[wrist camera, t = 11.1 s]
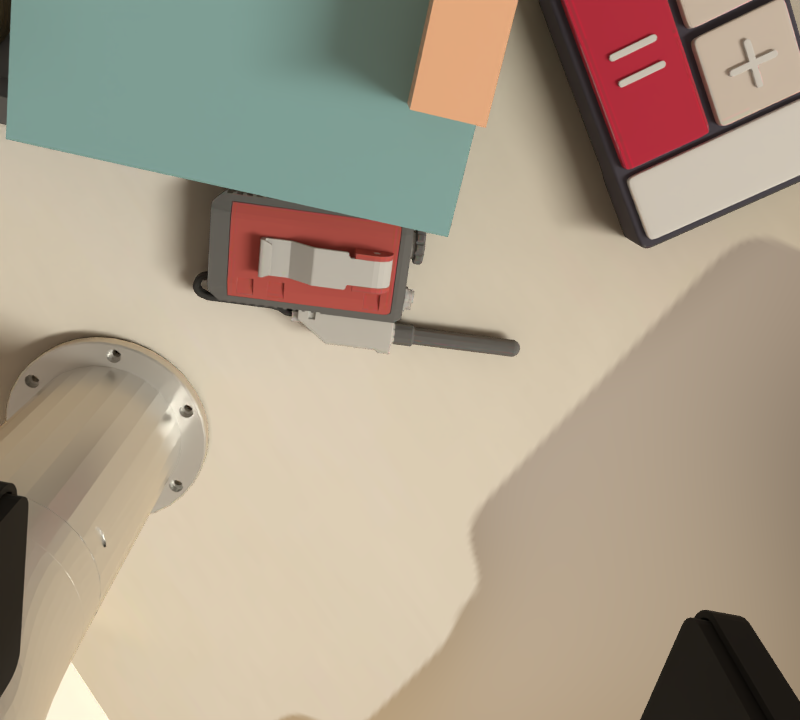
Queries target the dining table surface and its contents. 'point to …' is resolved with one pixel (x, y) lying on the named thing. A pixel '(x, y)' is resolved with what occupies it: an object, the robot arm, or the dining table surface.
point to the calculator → (683, 104)
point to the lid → (267, 94)
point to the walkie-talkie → (323, 273)
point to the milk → (74, 700)
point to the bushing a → (5, 18)
